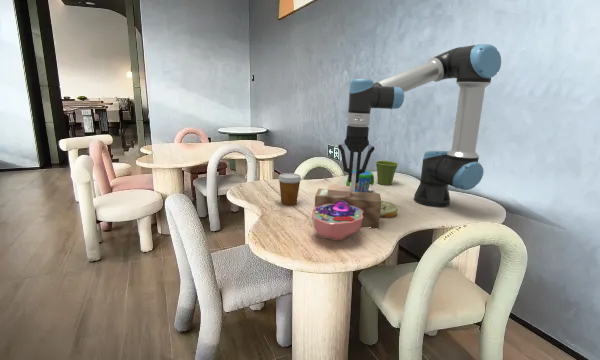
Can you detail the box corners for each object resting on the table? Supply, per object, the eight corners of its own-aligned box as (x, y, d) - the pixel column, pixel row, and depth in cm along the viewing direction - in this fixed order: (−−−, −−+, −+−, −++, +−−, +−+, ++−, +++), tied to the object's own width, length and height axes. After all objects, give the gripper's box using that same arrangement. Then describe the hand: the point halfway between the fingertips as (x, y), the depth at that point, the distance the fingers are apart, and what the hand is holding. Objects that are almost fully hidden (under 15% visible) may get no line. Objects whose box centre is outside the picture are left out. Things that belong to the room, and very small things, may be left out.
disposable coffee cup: (303, 202, 148) (305, 174, 145) (294, 208, 140) (295, 179, 137) (284, 198, 152) (284, 171, 149) (273, 204, 144) (274, 176, 141)
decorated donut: (382, 220, 131) (383, 210, 130) (361, 211, 141) (361, 201, 140) (402, 215, 138) (403, 205, 137) (380, 206, 147) (381, 197, 146)
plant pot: (398, 187, 179) (401, 165, 176) (375, 186, 179) (377, 164, 176) (393, 181, 190) (395, 161, 187) (371, 180, 190) (373, 160, 187)
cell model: (298, 239, 111) (299, 205, 108) (327, 221, 128) (329, 191, 125) (346, 254, 103) (349, 218, 100) (371, 232, 119) (374, 201, 116)
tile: (351, 186, 129) (329, 184, 131) (350, 191, 123) (327, 189, 124) (350, 191, 130) (329, 189, 131) (350, 197, 123) (327, 195, 125)
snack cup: (366, 188, 173) (367, 168, 171) (379, 194, 164) (381, 173, 162) (339, 191, 167) (341, 170, 164) (352, 197, 157) (353, 175, 155)
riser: (377, 218, 132) (380, 193, 130) (378, 228, 123) (381, 201, 120) (317, 213, 136) (318, 187, 133) (313, 222, 126) (315, 195, 124)
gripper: (338, 125, 118) (333, 192, 124) (377, 127, 116) (371, 195, 122) (339, 123, 125) (335, 186, 131) (376, 125, 123) (370, 189, 129)
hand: (352, 191), depth 126 cm, fingers closed
